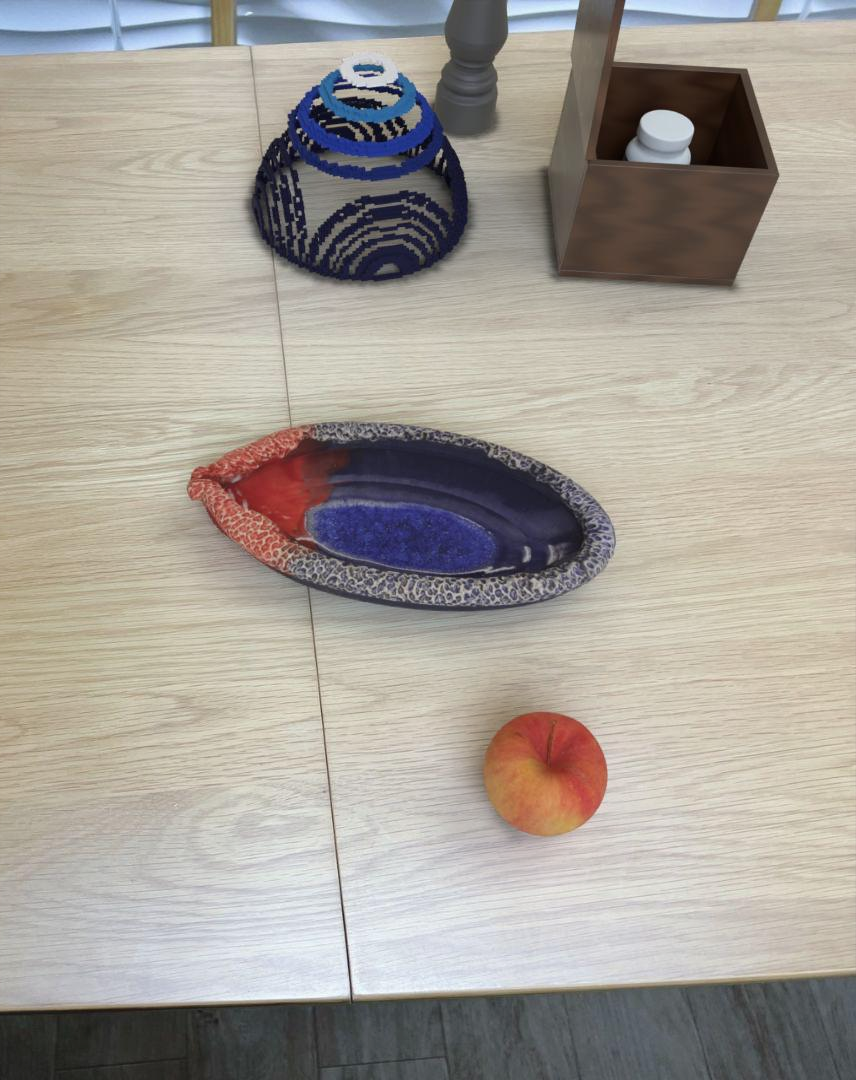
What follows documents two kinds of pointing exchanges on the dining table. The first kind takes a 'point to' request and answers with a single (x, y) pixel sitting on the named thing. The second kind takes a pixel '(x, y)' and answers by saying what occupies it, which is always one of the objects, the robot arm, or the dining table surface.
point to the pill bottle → (661, 139)
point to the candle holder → (471, 65)
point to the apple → (545, 773)
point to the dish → (407, 516)
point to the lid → (594, 63)
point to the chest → (662, 180)
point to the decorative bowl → (363, 173)
